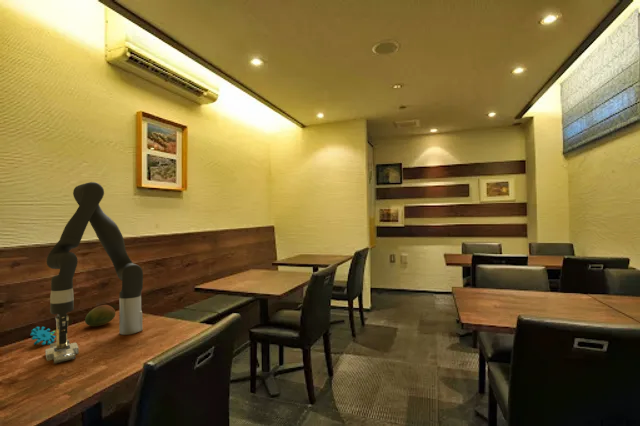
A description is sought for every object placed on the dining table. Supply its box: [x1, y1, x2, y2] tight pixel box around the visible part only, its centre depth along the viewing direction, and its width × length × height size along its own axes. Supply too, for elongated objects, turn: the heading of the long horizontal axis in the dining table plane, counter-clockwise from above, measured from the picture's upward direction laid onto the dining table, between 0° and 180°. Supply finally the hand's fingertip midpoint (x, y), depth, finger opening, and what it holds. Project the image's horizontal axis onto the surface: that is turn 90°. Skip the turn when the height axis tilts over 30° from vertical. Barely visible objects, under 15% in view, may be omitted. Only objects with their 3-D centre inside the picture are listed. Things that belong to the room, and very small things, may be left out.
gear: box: [29, 326, 56, 346], centre depth 143 cm, size 11×6×10 cm
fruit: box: [84, 304, 116, 327], centre depth 167 cm, size 12×13×10 cm
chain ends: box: [45, 339, 80, 365], centre depth 132 cm, size 10×22×3 cm, turn 43°
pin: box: [55, 326, 68, 350], centre depth 132 cm, size 4×4×9 cm
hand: (62, 342), depth 132 cm, fingers closed on pin, 3 cm apart
